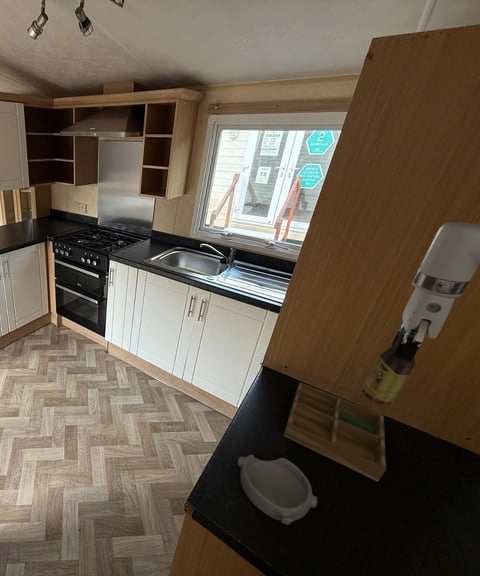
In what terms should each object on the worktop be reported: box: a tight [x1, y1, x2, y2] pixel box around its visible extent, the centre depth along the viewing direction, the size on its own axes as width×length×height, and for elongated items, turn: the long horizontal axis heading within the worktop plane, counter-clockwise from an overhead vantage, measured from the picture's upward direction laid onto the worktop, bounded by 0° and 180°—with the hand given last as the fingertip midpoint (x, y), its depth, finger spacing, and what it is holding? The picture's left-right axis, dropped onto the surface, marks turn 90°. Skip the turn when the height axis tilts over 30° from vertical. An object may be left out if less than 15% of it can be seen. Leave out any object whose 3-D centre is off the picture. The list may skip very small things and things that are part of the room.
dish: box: [237, 454, 318, 525], centre depth 70 cm, size 14×14×5 cm
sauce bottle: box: [361, 330, 416, 406], centre depth 75 cm, size 6×6×20 cm
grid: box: [283, 381, 387, 482], centre depth 85 cm, size 20×20×5 cm
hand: (401, 352), depth 73 cm, fingers closed on sauce bottle, 4 cm apart
